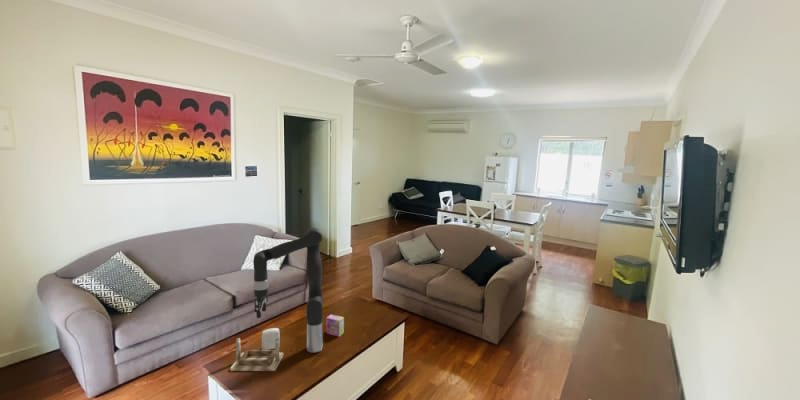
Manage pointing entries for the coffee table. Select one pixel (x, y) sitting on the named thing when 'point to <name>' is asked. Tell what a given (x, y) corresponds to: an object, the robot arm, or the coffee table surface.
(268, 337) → the photo printer
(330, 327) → the box
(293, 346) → the coffee table surface
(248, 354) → the beige hollow frame piece
